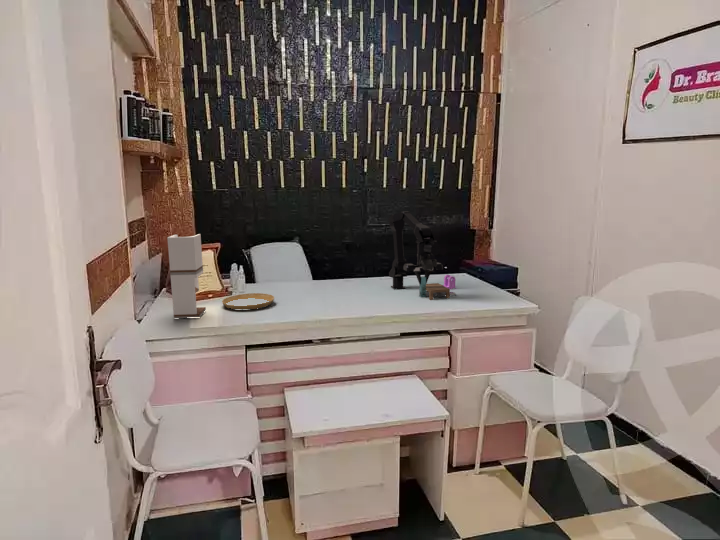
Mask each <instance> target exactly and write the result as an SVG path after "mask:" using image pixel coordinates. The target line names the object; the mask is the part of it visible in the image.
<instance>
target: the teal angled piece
mask: <svg viewBox="0 0 720 540" xmlns="http://www.w3.org/2000/svg"><path fill="white" fill-rule="evenodd" d="M426 284H427V283H426V277H425V275H424V276H421V284H419V283H418V286H419V290H418V292H419V293H418V297H420V298H429V292H428V291H427V290H426ZM445 295H446V292H436V293H433V297H446V296H445Z"/></svg>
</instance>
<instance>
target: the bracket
mask: <svg viewBox="0 0 720 540" xmlns="http://www.w3.org/2000/svg"><path fill="white" fill-rule="evenodd" d="M442 285H443V286H445V287H446V288H448V289H450V290H454V289H453V288H455V289H456V277H455V276H452V275H449V274H445V275H444V278H443V284H442Z"/></svg>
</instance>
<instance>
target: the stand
mask: <svg viewBox="0 0 720 540" xmlns="http://www.w3.org/2000/svg"><path fill="white" fill-rule="evenodd" d="M443 285H444V284H440V282H437V283H436V282H435V283H434V282H433V283H432V282H431V283H426V291H428V292H429V297H428V300H430V301H433V300H434V296H433V293H436V292H446V296H445V299H446V298H450V297H451V296H450V292H451V289H448V288H446V287H445V286H443Z"/></svg>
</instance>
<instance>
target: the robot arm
mask: <svg viewBox="0 0 720 540" xmlns="http://www.w3.org/2000/svg"><path fill="white" fill-rule="evenodd" d="M388 224H389V228H390V229H391V231H392V237H393V251H394V254H393V255H394V260H393V261H392V264H391V269H390V271H388V277H389V278H392V285H390V288H391V289H393V290H402V289H403V290H404V289H406V286H404V277H408V273H409V272H413V273H414V274H415V276H416V278H417V282H418V285H419V284H421V277H422V276H421V274H422V270H423V271H424V276H425V277H426V284H428V281H429V277H430V275H431V274H432V273H433V272H435V270H434V269H436V270H438V271H440V270H444V266H443V265H444V264H442V263H441V262H438V260H437V259H435V258H434V259H431V255H433V256H438V255H439V254H441V249H442V248H441V245H440V244H439V243H438V240H436V237H435V236H434V233H433V231H432V228H431V227H430V226H428V225H426V224H422V223H421V222H420V221H419V220H418V219H417V218H416V217H414V215H413V214H411V212H410V211H408V210H407V211H405V210H403V211H400V212H398V213H395V214H391V215H389V217H388ZM406 224H407V225H408V226H409V227H410V228H411V230H413V235H414V236H415V238H416V240H415V243H416V244H417V254H416V257H417V260H416V261H417V262H416V264H413V263H409V261H408V260H407V259H406V258H405V253H404V239H403V238H404V237H403V231H404V228H405V226H406ZM421 269H422V270H421Z"/></svg>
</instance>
